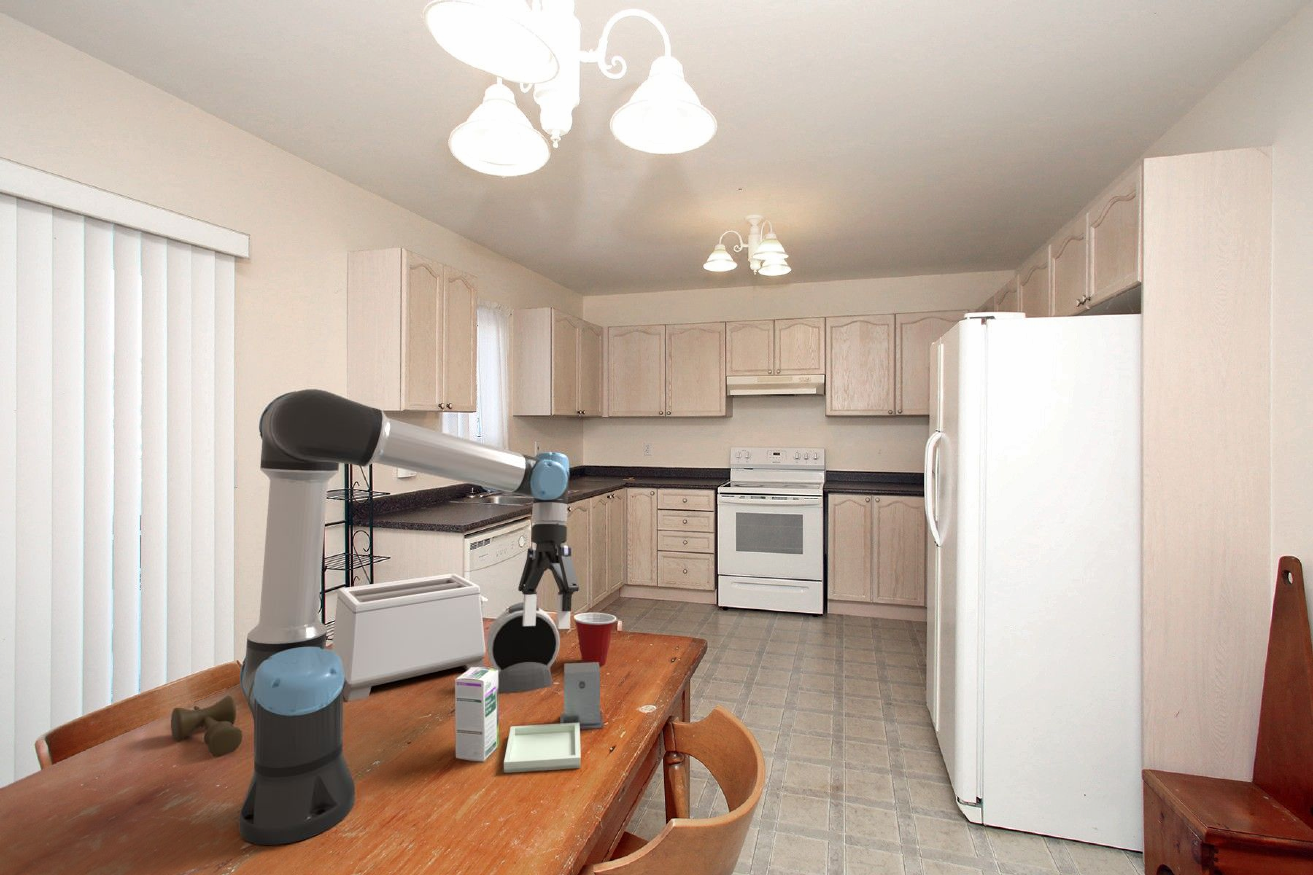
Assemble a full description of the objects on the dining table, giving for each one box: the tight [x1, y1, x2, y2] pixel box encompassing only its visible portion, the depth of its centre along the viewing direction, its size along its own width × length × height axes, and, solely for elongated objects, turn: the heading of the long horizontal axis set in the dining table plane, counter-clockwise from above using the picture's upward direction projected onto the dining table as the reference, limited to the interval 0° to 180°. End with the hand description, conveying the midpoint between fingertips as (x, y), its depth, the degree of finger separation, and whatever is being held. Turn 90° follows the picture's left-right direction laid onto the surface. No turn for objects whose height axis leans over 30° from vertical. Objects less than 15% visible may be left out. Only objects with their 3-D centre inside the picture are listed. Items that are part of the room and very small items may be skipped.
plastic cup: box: [573, 612, 617, 668], centre depth 156 cm, size 11×11×12 cm
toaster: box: [331, 572, 489, 703], centre depth 150 cm, size 19×34×21 cm, turn 128°
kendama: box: [170, 695, 243, 758], centre depth 117 cm, size 6×10×20 cm
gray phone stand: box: [559, 662, 604, 730], centre depth 124 cm, size 8×6×11 cm
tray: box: [503, 723, 582, 774], centre depth 113 cm, size 13×13×2 cm
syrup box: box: [454, 666, 500, 763], centre depth 112 cm, size 6×6×14 cm
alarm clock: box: [486, 601, 561, 693], centre depth 143 cm, size 16×10×18 cm, turn 109°
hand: (545, 627), depth 128 cm, fingers open, 13 cm apart
